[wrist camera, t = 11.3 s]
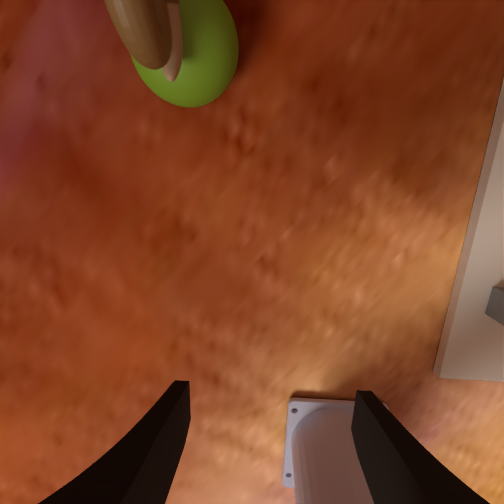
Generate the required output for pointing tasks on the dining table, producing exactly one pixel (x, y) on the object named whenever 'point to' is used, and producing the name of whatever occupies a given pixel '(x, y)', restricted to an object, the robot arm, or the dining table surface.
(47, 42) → the dining table surface
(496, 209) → the cradle jig
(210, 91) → the snail figurine
